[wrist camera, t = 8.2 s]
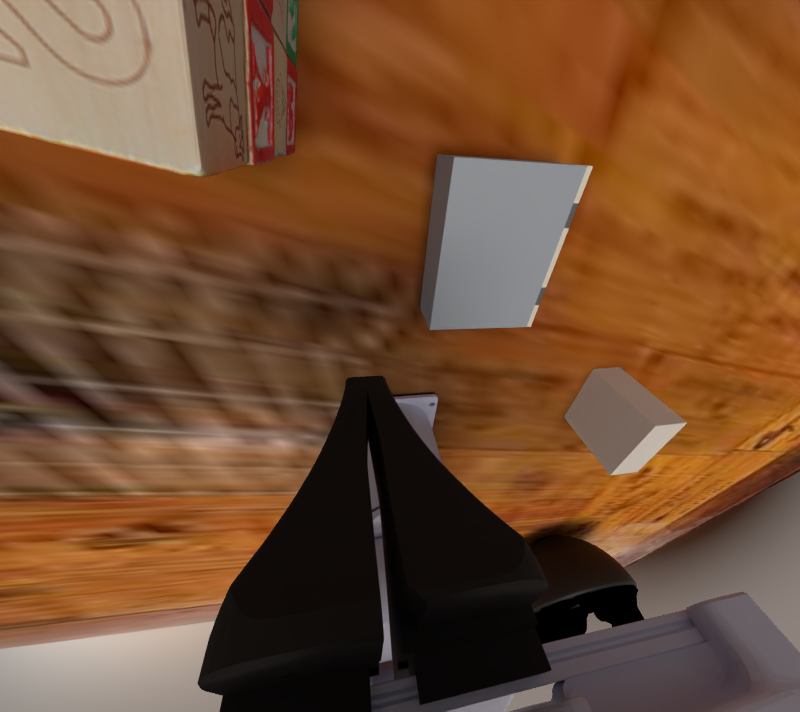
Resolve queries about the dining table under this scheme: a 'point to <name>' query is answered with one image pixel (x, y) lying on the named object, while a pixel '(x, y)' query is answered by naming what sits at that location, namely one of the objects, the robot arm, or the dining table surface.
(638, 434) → the light grey square block
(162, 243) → the dining table surface
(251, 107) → the stack of blocks
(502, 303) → the gray rectangular block
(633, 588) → the coal bowl
